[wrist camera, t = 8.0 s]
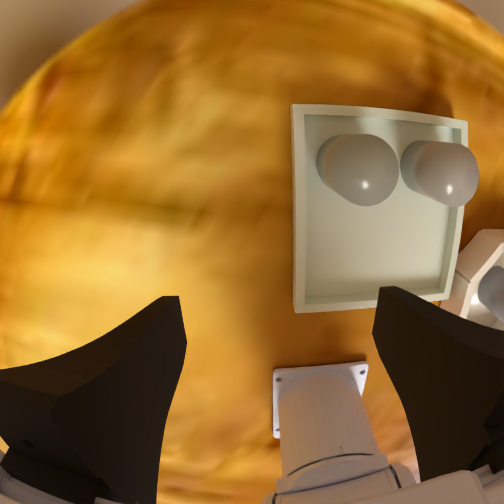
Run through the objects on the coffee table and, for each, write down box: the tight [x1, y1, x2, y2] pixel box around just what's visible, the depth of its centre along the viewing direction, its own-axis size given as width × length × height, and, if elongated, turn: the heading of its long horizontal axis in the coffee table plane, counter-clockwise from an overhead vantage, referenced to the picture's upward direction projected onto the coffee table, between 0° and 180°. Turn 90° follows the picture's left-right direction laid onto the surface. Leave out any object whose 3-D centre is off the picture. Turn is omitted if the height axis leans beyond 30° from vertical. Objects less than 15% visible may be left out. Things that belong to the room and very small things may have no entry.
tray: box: [290, 104, 468, 314], centre depth 19 cm, size 13×12×2 cm
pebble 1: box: [316, 134, 399, 206], centre depth 16 cm, size 4×4×4 cm
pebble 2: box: [400, 140, 479, 207], centre depth 16 cm, size 4×4×4 cm
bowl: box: [440, 229, 504, 331], centre depth 20 cm, size 10×10×3 cm
